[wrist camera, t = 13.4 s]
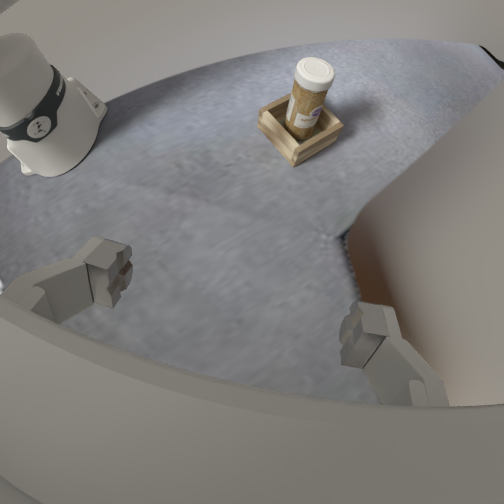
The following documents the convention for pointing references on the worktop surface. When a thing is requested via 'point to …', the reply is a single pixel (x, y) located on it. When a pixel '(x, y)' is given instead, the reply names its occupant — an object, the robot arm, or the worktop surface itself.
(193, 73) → the worktop surface
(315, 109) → the sprinkles bottle
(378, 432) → the robot arm
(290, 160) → the box
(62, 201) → the worktop surface
